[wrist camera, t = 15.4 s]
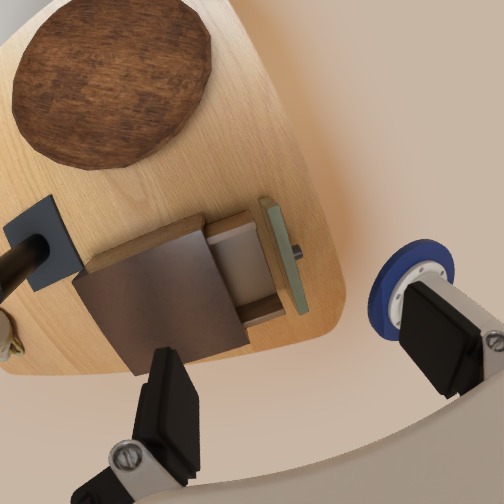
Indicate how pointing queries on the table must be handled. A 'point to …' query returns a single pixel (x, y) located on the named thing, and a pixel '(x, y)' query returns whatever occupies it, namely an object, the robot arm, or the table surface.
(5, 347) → the mug
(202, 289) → the cabinet
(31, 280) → the mat
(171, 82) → the bowl
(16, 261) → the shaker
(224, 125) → the table surface
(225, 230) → the drawer
